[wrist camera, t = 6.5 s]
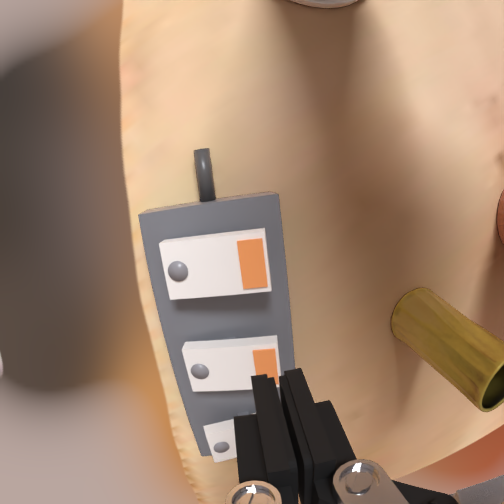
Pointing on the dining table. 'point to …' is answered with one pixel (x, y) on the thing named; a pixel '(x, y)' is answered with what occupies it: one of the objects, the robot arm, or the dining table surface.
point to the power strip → (219, 307)
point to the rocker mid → (231, 362)
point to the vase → (452, 346)
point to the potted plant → (501, 218)
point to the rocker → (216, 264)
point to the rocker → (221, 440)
